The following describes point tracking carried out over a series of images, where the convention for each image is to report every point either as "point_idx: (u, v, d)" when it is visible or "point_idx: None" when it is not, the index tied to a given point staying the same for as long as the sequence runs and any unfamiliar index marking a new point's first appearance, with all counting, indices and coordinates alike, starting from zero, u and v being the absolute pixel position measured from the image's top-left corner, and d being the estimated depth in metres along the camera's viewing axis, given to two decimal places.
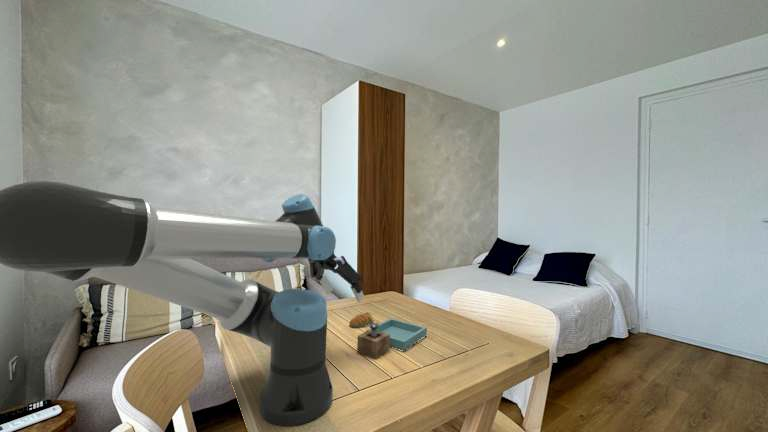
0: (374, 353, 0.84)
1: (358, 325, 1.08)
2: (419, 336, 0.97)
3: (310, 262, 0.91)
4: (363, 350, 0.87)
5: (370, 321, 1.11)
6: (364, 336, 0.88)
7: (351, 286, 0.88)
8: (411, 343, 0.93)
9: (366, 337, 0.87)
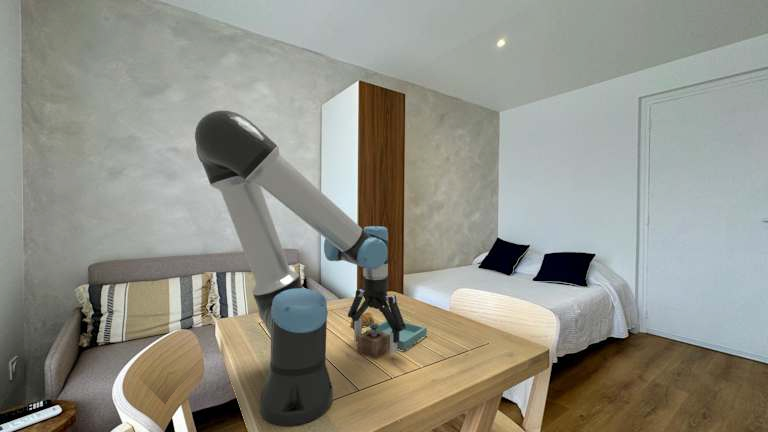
0: (374, 353, 0.84)
1: None
2: (419, 336, 0.97)
3: (356, 297, 0.92)
4: (363, 350, 0.87)
5: (371, 321, 1.11)
6: (364, 336, 0.88)
7: (391, 331, 0.84)
8: (411, 343, 0.93)
9: (366, 337, 0.87)
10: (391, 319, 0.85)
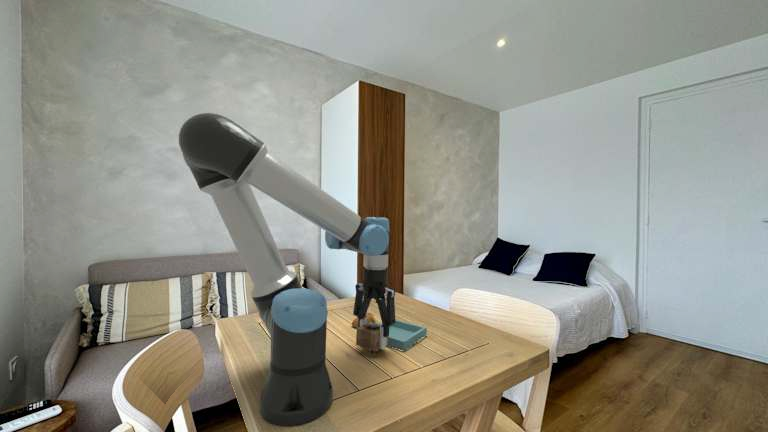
0: (373, 345, 0.84)
1: None
2: (419, 336, 0.97)
3: (357, 291, 0.91)
4: (362, 342, 0.87)
5: (372, 321, 1.11)
6: (363, 329, 0.87)
7: None
8: (411, 343, 0.93)
9: (365, 329, 0.87)
10: (384, 313, 0.86)
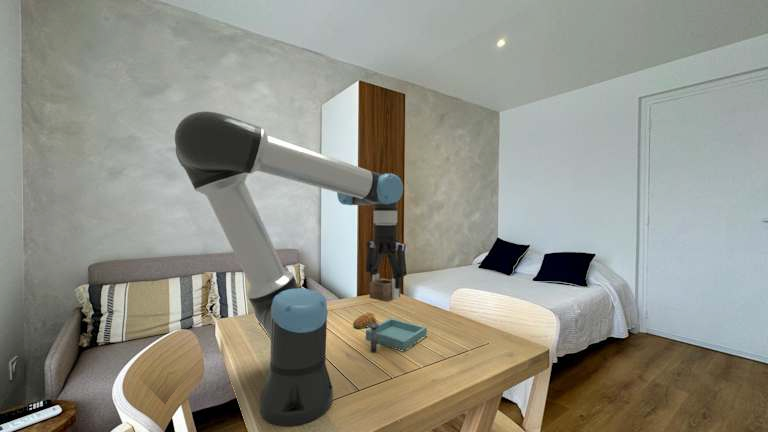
0: (386, 296, 0.88)
1: (362, 326, 1.07)
2: (419, 336, 0.97)
3: (368, 248, 0.95)
4: (375, 295, 0.91)
5: (374, 321, 1.11)
6: (376, 282, 0.92)
7: (393, 278, 0.90)
8: (411, 343, 0.93)
9: (378, 283, 0.91)
10: (395, 266, 0.90)
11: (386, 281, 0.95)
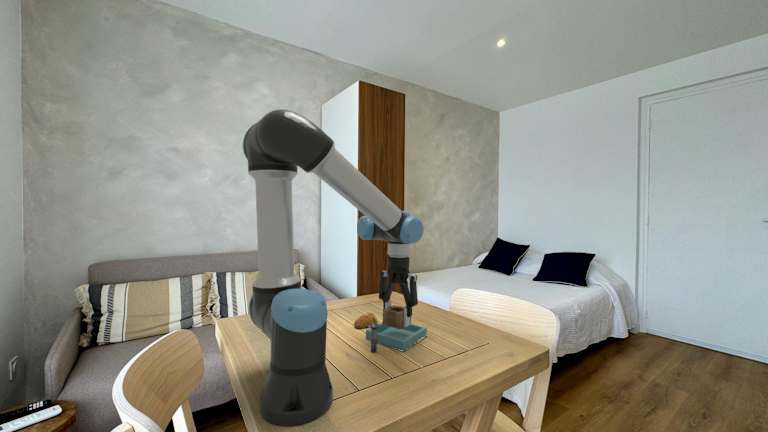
0: (399, 324, 0.95)
1: (363, 326, 1.07)
2: (419, 336, 0.97)
3: (382, 277, 1.02)
4: (388, 322, 0.97)
5: (374, 322, 1.11)
6: (389, 310, 0.98)
7: (405, 307, 0.97)
8: (411, 343, 0.93)
9: (391, 310, 0.98)
10: (407, 296, 0.97)
11: (398, 308, 1.02)
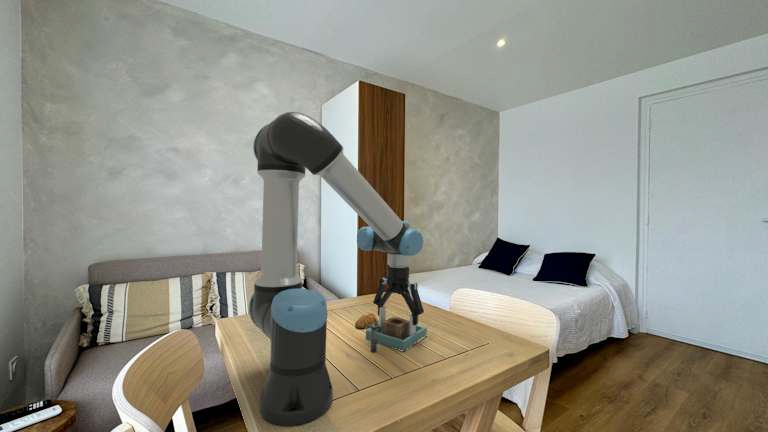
0: (398, 336, 0.95)
1: (364, 326, 1.07)
2: (419, 336, 0.97)
3: (380, 284, 1.02)
4: (388, 334, 0.97)
5: (375, 322, 1.10)
6: (388, 322, 0.98)
7: (411, 315, 0.95)
8: (411, 343, 0.93)
9: (390, 323, 0.98)
10: (411, 304, 0.96)
11: (397, 320, 1.01)
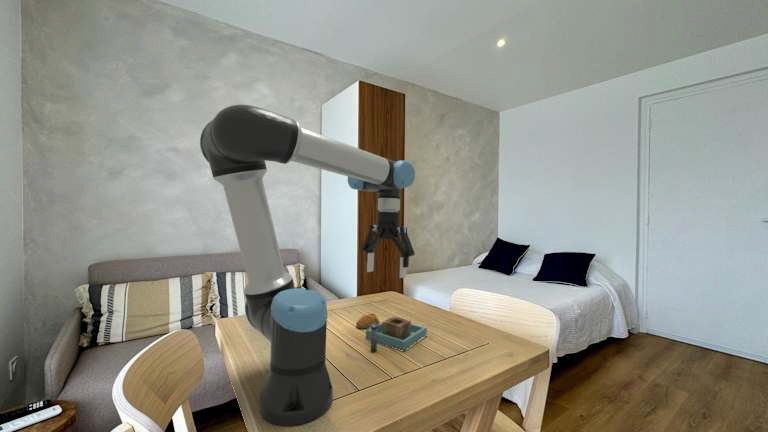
0: (398, 336, 0.95)
1: (366, 326, 1.07)
2: (419, 336, 0.97)
3: (370, 230, 1.02)
4: (388, 334, 0.97)
5: (376, 322, 1.10)
6: (388, 322, 0.98)
7: (401, 257, 0.94)
8: (411, 343, 0.93)
9: (390, 323, 0.98)
10: (402, 247, 0.95)
11: (397, 320, 1.01)
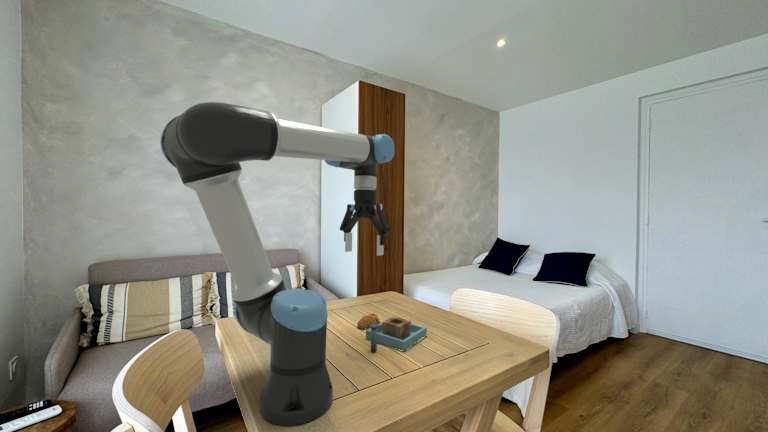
0: (398, 336, 0.95)
1: (367, 327, 1.07)
2: (419, 336, 0.97)
3: (348, 210, 1.01)
4: (388, 334, 0.97)
5: (377, 322, 1.10)
6: (388, 322, 0.98)
7: (378, 235, 0.93)
8: (411, 343, 0.93)
9: (390, 323, 0.98)
10: (378, 224, 0.94)
11: (397, 320, 1.01)
